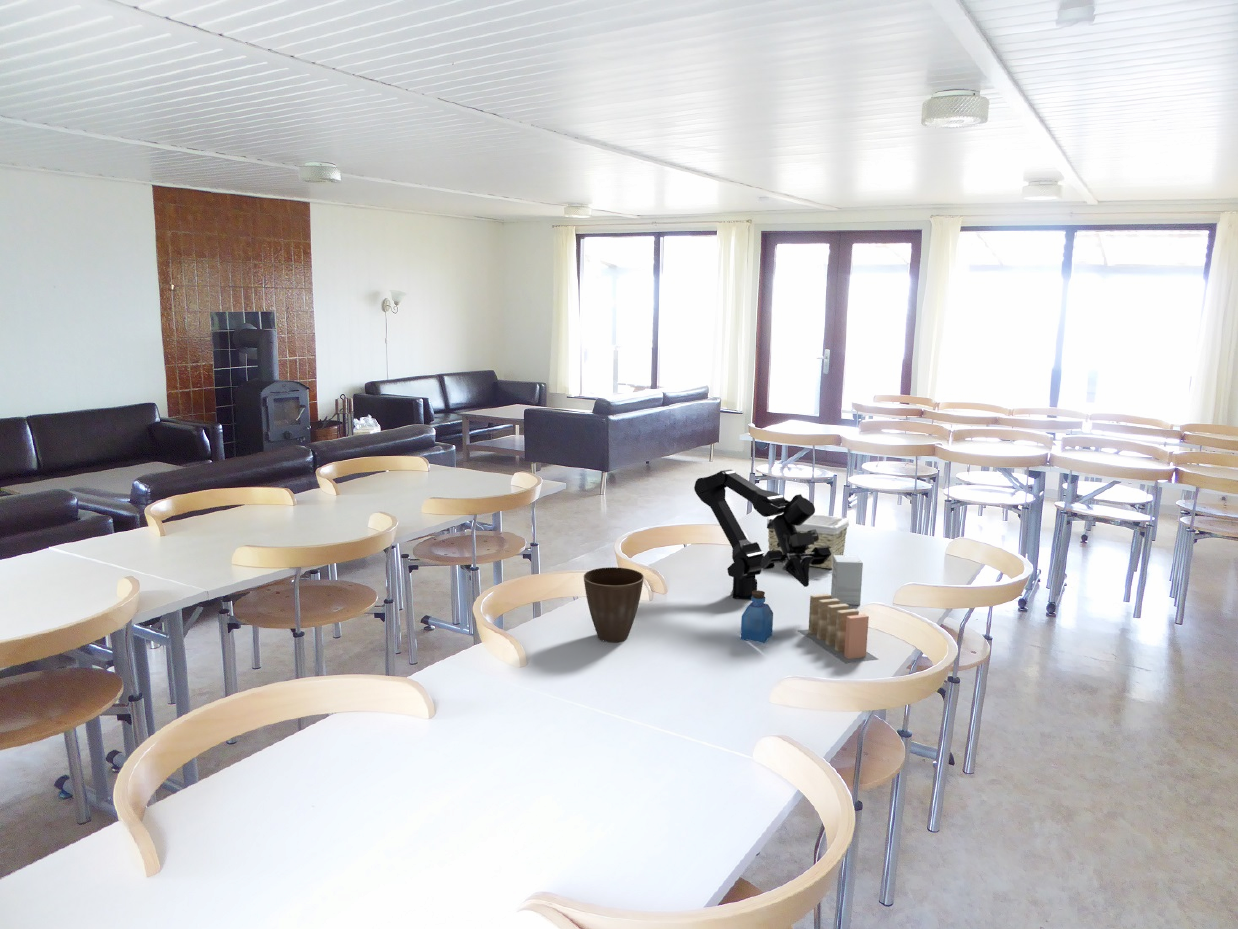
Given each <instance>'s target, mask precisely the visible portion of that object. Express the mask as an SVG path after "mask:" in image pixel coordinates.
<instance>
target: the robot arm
mask: <svg viewBox="0 0 1238 929" xmlns="http://www.w3.org/2000/svg"><path fill="white" fill-rule="evenodd" d="M693 488H694V492H695V494H696V495H697V497H698V498H699V499H700V501H701V502H702V503H704V504H705V505H707V506H708V507H709V508H710V509H711V511H712V512H713V515H714V516H715V518H716V520H717V522H718V524H719V525H720V528H721V530H722V531H723V533H724V536H725V537H726V539H727V540H728V542H729V544H730V546H731V548H732V552H731V553H732V555H731V558H732V561H733V563H731V564H730V565H729V567H726V568H727V573H728V576H729V577H732V590H731V595H732V597H731V598H733V599H743V600H751V596H753V594H752V591H755V590H758V580H757V579H756V576H758V575H760V574H761V573H762V570H763V571H766V570H773V569H774V568H775V565H776V563H777V564H779V563H782V564H783V567H782V568H781V569H782V571H785V572H787V573H789V575H791V576H792V577H793V578H794V579H796V581H798V582H799V583H800V584H801V585H802V586H803V587H804V588H805V587H806V588H807V587H809V585H810V578H809V577H810V566H809V565H810V564H812V565H821V564H823V563H824V562H825V561H826V560H827V559H828V558H829V557H830V556H831V551H830V549H829V547H827V546H822V547H815V548H814V549H813V550H812V551H811V552H808V553H805V550H808V548H809V546H808V545H811V544H812V545H813V544H814V542H816V541H818V540H819V536H818V533H817V531H816V529H814V530H810V531H807V533H801V532H797V530H796V527H795V525H796V526H800V525H802V524H803V523H804V522H805V521H806V520H807V519H808V518H810V517H811V516H812V515H813V514H815V512H816V508H815V505H814V503H813V502H811V501H810V500H809V499H807V497H806V498H805V497H803V495H802V494H801V493H799V494H795V495H794V496H793V497H792V498H791V500H787V499H786V498H785V497H784V496H783V494H780V493H777V492H774V491H771V490H767V489H766V490H765V489H762V488H761V487H759V486H757V485H756V484H754V483H753V482H751V481H750V480H748V479H747V478H745V477H743V476H741V475H740V474H738V473H737V472H736V471H735V470H733V469H724V470H720V471H718V472H716V473H714V474H711V475H709V476H704V477H698V478H697V479H696V481H695V483H694V487H693ZM726 488H729V489H730V490H732V492H735V493H736V494H737V495H739V496H741V497H742V498H744V499H745V500H747V501H749V502H750V503H751V504H752V507H753V510H755V511H756V512H757V513H758V514H759V515H761V516H762V517H763V518H769V517H771V516H774V515H777V516H776V517H775V518H774V519H770V520H769V523H768V525H767V524H766V528H767V530H768V529H774V531H775V534H776V536H777V539H778V543H777V547H781V550H782V551H780V550H774V551H769V550H767V552H766V553H765V552H764V551H763V550H762V549H761V547H760V544H759V543H758V542H757V541H755V542H751V541H749V539H748V538H747V536H746V535H745V532H744V531H743V529H742V527H741V526H740V524H739V522H738V520H737V518H736V516H735V515H734V513H733V511H732V508H731V507H730V505H729V504H728V502H727V500H726ZM782 513H783V514H782ZM779 514H782V515H779ZM782 552H783V553H782Z"/></svg>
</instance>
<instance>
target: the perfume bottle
mask: <svg viewBox="0 0 1238 929" xmlns="http://www.w3.org/2000/svg"><path fill="white" fill-rule="evenodd" d="M752 594H753V596H751V599H750V600H751V602H750V604H748V605H747V607H746V608H745V610H744V611H743V613H742V615H741V620H740V621H741V624H740V640H742V641H746V642H748V641H752V642H757V643H762V644H765V643H766V642H767V641H768V640H769V639H770V638H771V637H772V636H773V625H774V623H773V621H774V612H773V610H772V608H771V607H770V605H769V604H768V603H765V602H766V596H765V594H766V592H765V591H763V590H758V589H757V590H755V591H752Z"/></svg>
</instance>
